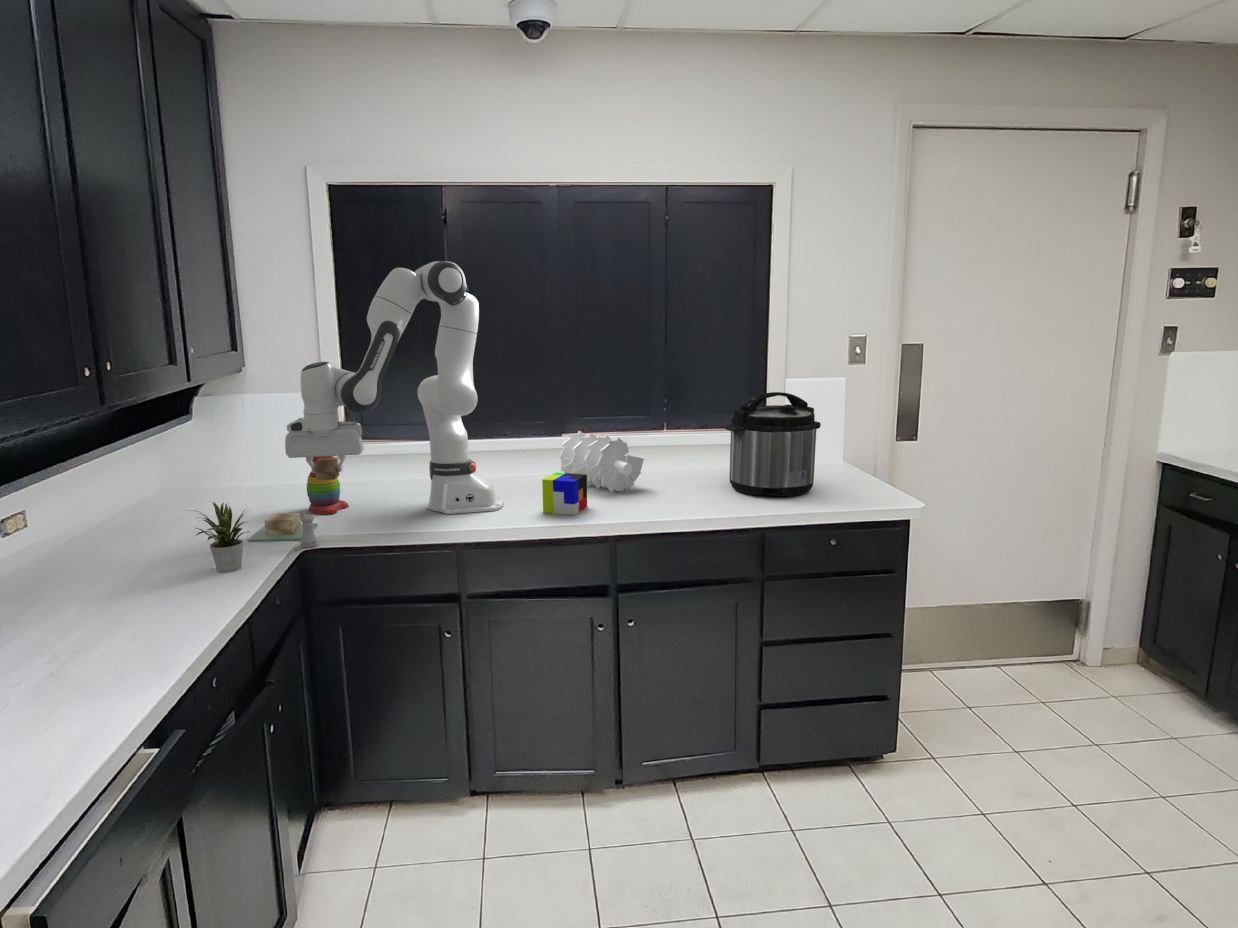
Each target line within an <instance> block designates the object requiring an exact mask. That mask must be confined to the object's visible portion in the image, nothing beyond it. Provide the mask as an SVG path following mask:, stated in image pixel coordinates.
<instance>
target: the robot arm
mask: <svg viewBox="0 0 1238 928" xmlns="http://www.w3.org/2000/svg"><path fill="white" fill-rule="evenodd" d="M465 276H466V275H465V273H464V271H463V269H462V268H461V267H460V266H459V265H458V264H456V263H455V262H452V261H449V260H441V261H439V260H438V261H435V260H434V261H431V262H429V263H426V264H425V263H424V264H423V265H421V266H418V268H416V269H414V270H411V269H409V268H405V267H395V268H393V269H392V270H391V271H390V272H389V273H388V275H386V277H385V278H384V279H383V281H382V283H381V284H380V286H379V288H378V289H377V291H376V293H375V295H374V297H373V298H372V301H371V303H370V305H369V307H368V312H367V316H366V321H367V322H366V323H367V325H368V328H369V330H370V333H371V334H370V335H371V339H370V344H369V346H368V348H367V351H366V354H365V356H364V358H363V361H362V363H361V365H360V367H359V369H358V371H356V372H353V371H349V370H346V369H343V368H340V367H338V366H335V365H333V364H332V363H330V362H328V361H318V362H313V363H310V364H307V365H305V366H304V367H303V368H302V369H301V371H300V395H301V399H302V402H303V405H304V406H303V417H299V418H297V419H295V420H293V421H291V422H289V423H288V424H287V425H286V431H287V434H286V435H285V438H284V442H285V443H284V448H285V455H286V456H287V458H289V459H294V458H295V459H297V458H305V461H306V463H307V464H308V466H309V467H310V469H311V471H312V473H315V464H314V463H313V461H312V460H313V457H323V456H333V457H337V458H338V461H339V462H338V464H337V465H336V466H335V468H336V472H339V473H340V472H343V464H344V462H345V460H346V456H358V455H359V456H360V455H361V454H362V453H363V451H364V443H363V438H362V435H363V428H362V426H361V424H360V423H359V422H357V421H353V420H352V421H351V420H350V421H340V420H339V410H338V409H339V407H342V406H343V407H346V408H347V409H348V410H350V411H351V412H354V413H356V414H365V413H368V412H369V413H370V412H372V411H373V410H374V409H375V408H376V407H377V406H378V405H379V403H380V402H381V398H382V386H383V385H382V384H383V379H384V377H385V374H386V371H387V369H388V367H389V365H390V363H391V360H392V358H393V355H394V352H395V350H396V347H397V345H398V343H399V340H400V339H401V338H402V334H403V333H404V331H405V329H406V327H407V325H408V323H409V322H410V320H411V317H412V315H413V314H414V311H415V309H416V306H417V305H419V303H420V302H421V300H422V301H427V302H435V303H436V302H438V305H439V307H440V319H439V320H440V321H439V324H438V331H437V337H436V343H435V347H434V348H435V349H434V356H435V359H436V362H437V375H432V376H429V377H427V378H424V379H423V380H422V381H420V384H419V385H418V387H417V398H418V400H419V403H421V406H422V410H423V414H424V418H425V422H426V426H427V429H428V435H429V437H428V438H429V449H430V451H429V452H430V461H429V477H430V480H431V481H430V483H431V484H430V494H429V499H428V500H429V501H428V505H427V508H428V510H431V511H434V512H438V513H443V514H445V515H453V514H467V513H469V514H470V513H478V512H482V513H483V512H492V511H493V512H494V511H498V510H500V509H502V508H503V506H504V499H503V498H502V497H501V496H497V492H496V489H495V486H494V484H493V483H492V482H491V480H489V479H487V478H486V477H484V476H483V475H482V474H480V473H478V472H477V463H476V461H475V460H472V459H470V458H469V440H468V439H469V437H468V436H469V435H468V432H467V429H466V428H465V425H464V424H463V421H462V420H463V419H462V417H464V416H468V415H469V414H471V413H472V412H473V411H474V410H475V409H476V407H477V404H478V392H477V390H476V388H475V382H474V365H473V362H474V354H475V349H476V348H475V347H476V343H477V336H478V331H479V321H480V308H479V307H480V306H479V301H478V300H477V298H476V297H475V296H474V295H473V294H470V293H469V288H468V286H467V281H466V277H465Z"/></svg>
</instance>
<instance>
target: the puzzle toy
mask: <svg viewBox="0 0 1238 928" xmlns="http://www.w3.org/2000/svg"><path fill="white" fill-rule="evenodd" d="M541 481H542V485H541V487H542V513H544V512H546V513H545V514H557V515H566V514H572V515H571V516H576V515H577V514H579V513H581V512H582V511H583V510H585V509H586V508H588V487H587V475H586V474H572V473H564V472H557V471H556V472H554V473H552V474H549V475H548V476H546V477H545V478H542V480H541ZM585 507H586V508H585ZM584 508H585V509H584ZM581 510H582V511H581ZM578 512H579V513H578ZM575 514H576V515H575Z"/></svg>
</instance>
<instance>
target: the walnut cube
mask: <svg viewBox="0 0 1238 928" xmlns="http://www.w3.org/2000/svg"><path fill="white" fill-rule="evenodd" d="M314 464H315V473H316V480H334V479H336V478H337V477H339V476H340V472H336V468H335V466H336V465H337V464H339V458H338V457H334V458H322V459H318V460H317V461H316V462H314Z"/></svg>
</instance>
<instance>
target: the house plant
mask: <svg viewBox="0 0 1238 928" xmlns="http://www.w3.org/2000/svg"><path fill="white" fill-rule="evenodd" d="M211 503H212V505H213V507H214V511H215V516H216V518H217V521H218V524H216V523H215V522H213V520H211V519H210V518H209V517H208V516H207V515H206V514H204V513H203V512H201V511H198V510H196V512H198V513H199V515H201V517H200V516H199V517H197V519H198V518H200V519H202V516H204V517H203V519H202V521H204V522H206V523H207V524H208V525H209V526H210V528H207V529H206V530H203V529H202V528H198V527H195V529H197V530H200V531H199V532H197V533H196V535H195V537H197V536H198V535H200V534H203V533H204V534H205V535H206V536H208V537H207V542H208V541H209V540H211V539H213V540H215V541H214V542H212V543H210V544H209V548H210V549H209V550H210V551H211V555H212V558H213V561H214V565H215V569H216V570H217V572H218V573H231V572H236V571H238V570H241V569H242V564H243V563H242V562H243V548H244V540H242V539H239V538H240V537H241V536H242V535H243V534H247V533H249V534H251V532H250V531H244V532H241V531H242V530H243V528H242V527H240V526H241V525H243V524H245V523H246V521H241V522H240V520H241V519H242V518H243V516H244V515H245V514H246V513H248V512H250V511H251V509H250V510H248V511H246V510H247V508H245V509H244V510H243V511H242V513H241V514H240V515H239V517H238V518H237V520H236V521H235V523H234V525H233V527H232V524H233V522H232V518H233V510H232V508H231V506H230V505H228V503H224V502H222V503H221V504H220V507H219V506H218V504H216V502H215V501H211ZM224 505H225V507H224ZM187 511H189V512H190V511H191V512H194V510H193V509H189V510H187ZM200 519H199V520H198V522H199V521H201V520H200ZM248 523H251V522H250V521H248ZM211 531H214V532H215V533H216V534H215V533H214V532H211ZM240 532H241V533H240Z"/></svg>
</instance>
